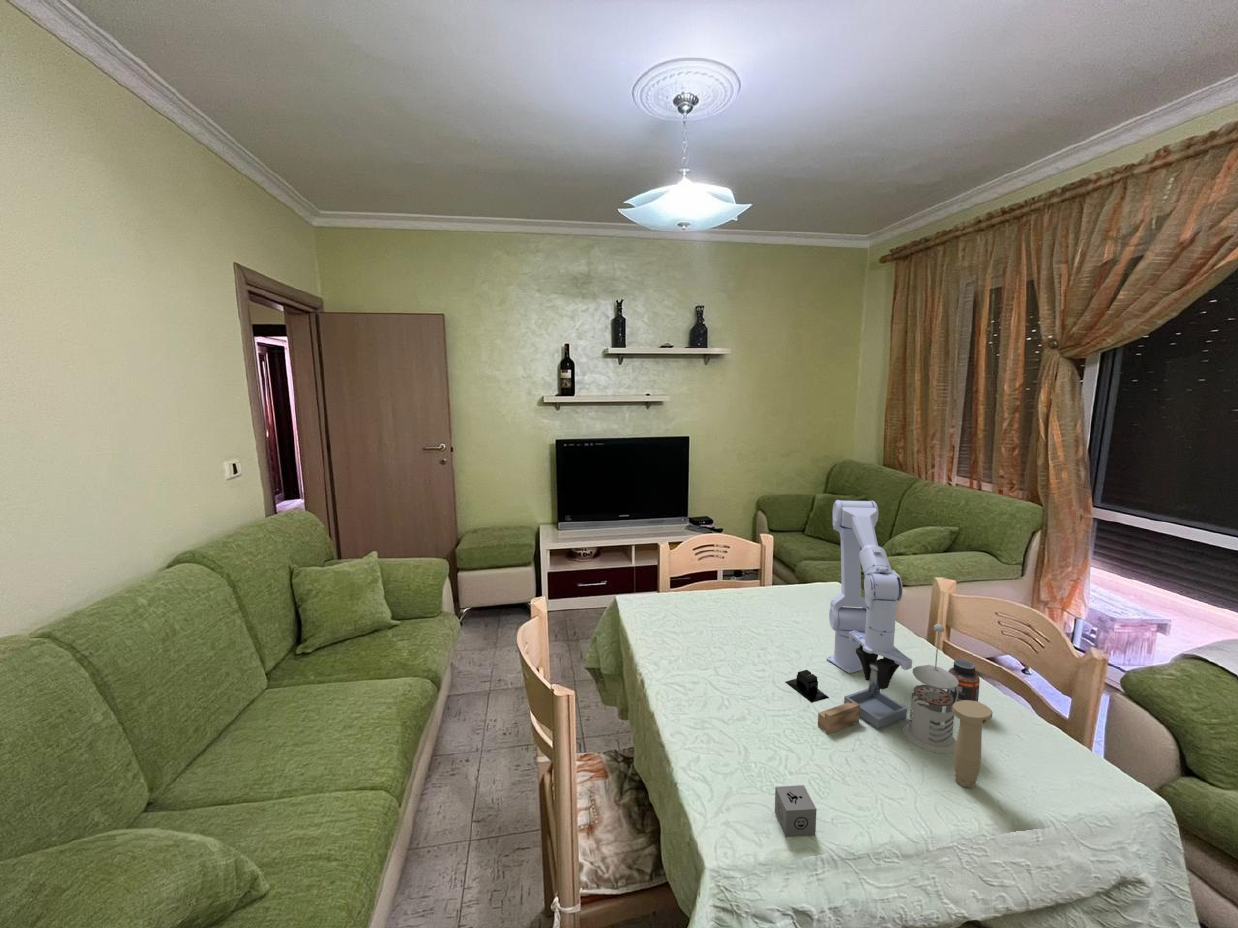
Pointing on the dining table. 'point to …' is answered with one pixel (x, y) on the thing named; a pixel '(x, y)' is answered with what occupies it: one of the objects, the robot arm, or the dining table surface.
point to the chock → (839, 717)
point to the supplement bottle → (965, 681)
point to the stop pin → (874, 678)
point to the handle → (969, 740)
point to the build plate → (807, 686)
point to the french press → (932, 708)
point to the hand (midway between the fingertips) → (876, 683)
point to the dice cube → (795, 811)
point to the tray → (877, 708)
